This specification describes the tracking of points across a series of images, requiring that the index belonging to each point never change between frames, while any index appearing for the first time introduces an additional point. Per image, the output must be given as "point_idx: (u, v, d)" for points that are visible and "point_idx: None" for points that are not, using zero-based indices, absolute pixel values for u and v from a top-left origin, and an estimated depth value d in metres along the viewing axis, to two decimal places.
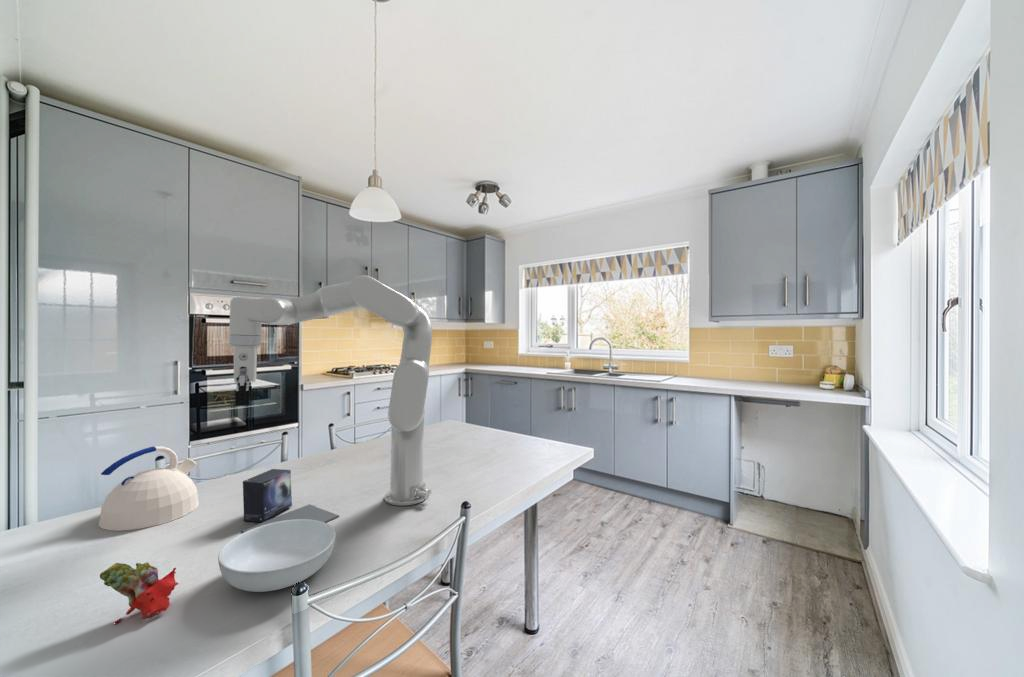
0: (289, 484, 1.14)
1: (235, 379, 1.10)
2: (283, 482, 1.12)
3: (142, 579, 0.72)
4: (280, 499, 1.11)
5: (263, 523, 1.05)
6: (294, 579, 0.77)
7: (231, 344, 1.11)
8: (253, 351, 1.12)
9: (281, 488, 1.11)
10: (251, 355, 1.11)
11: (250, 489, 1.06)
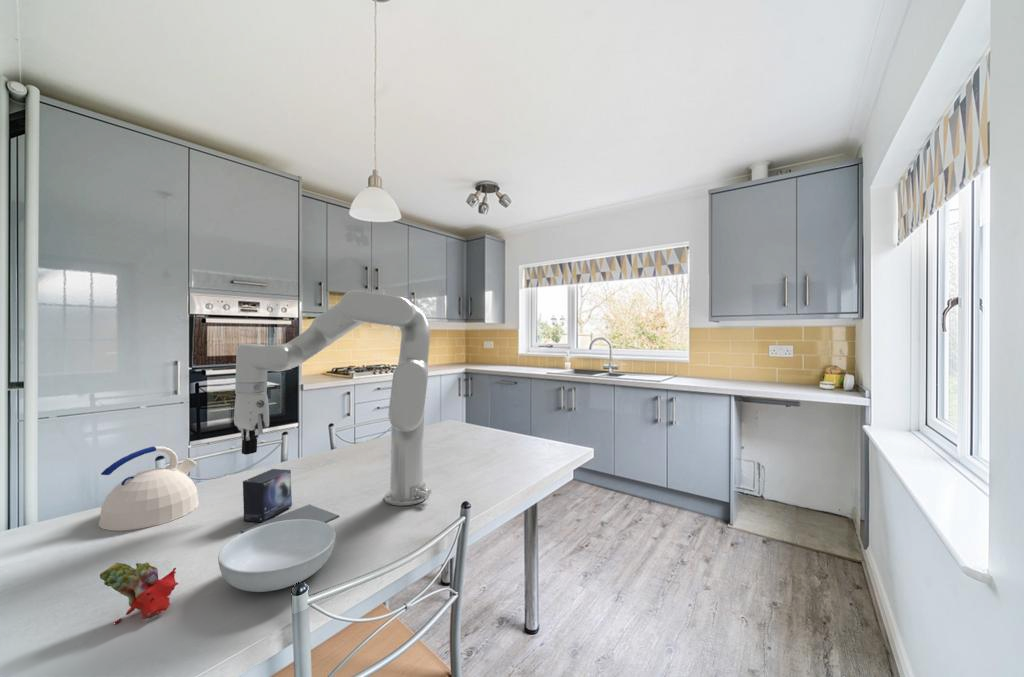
0: (289, 484, 1.14)
1: (253, 427, 1.11)
2: (283, 482, 1.12)
3: (142, 579, 0.72)
4: (280, 499, 1.11)
5: (263, 523, 1.05)
6: (294, 579, 0.77)
7: (244, 392, 1.11)
8: (267, 397, 1.14)
9: (281, 488, 1.11)
10: (266, 402, 1.14)
11: (250, 489, 1.06)
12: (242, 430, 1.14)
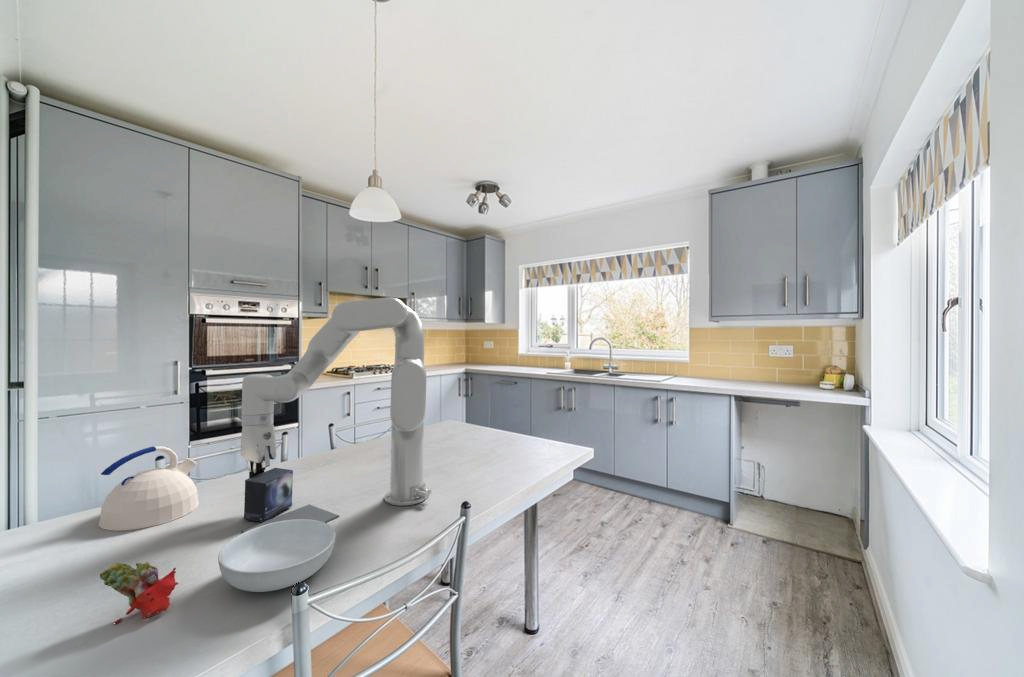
0: (290, 484, 1.14)
1: (260, 460, 1.09)
2: (285, 482, 1.12)
3: (142, 579, 0.72)
4: (281, 499, 1.11)
5: (263, 523, 1.05)
6: (294, 579, 0.77)
7: (250, 425, 1.09)
8: None
9: (282, 488, 1.11)
10: (273, 433, 1.12)
11: (252, 489, 1.06)
12: (249, 462, 1.13)
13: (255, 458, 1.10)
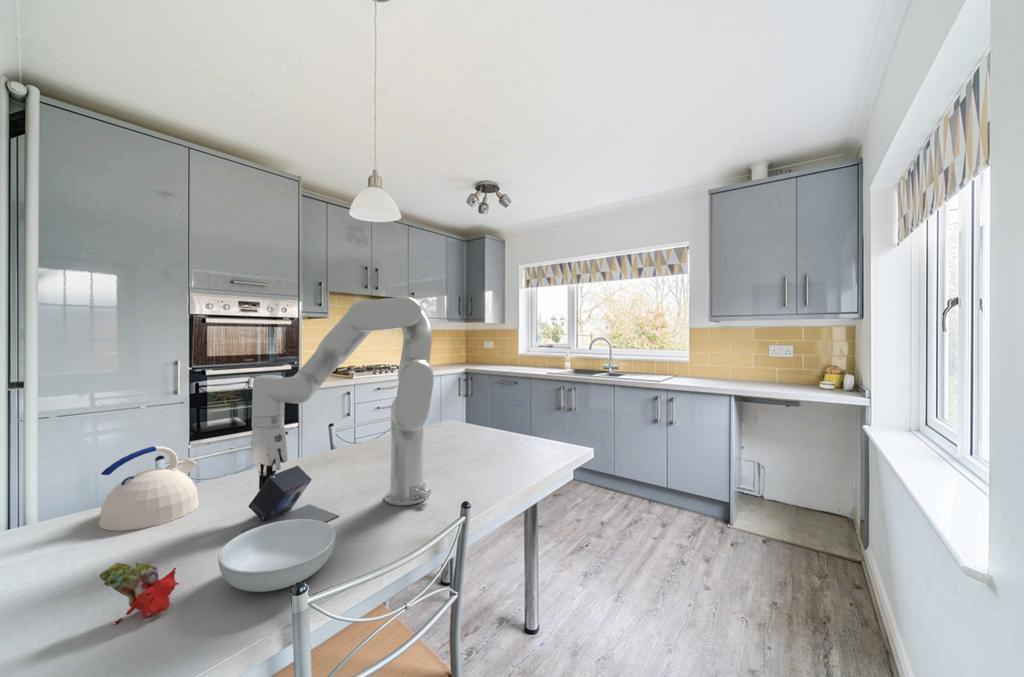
0: (302, 491, 1.14)
1: (271, 463, 1.07)
2: (299, 490, 1.11)
3: (142, 579, 0.72)
4: (288, 504, 1.10)
5: (263, 523, 1.05)
6: (294, 579, 0.77)
7: (261, 427, 1.07)
8: (284, 431, 1.10)
9: (295, 495, 1.10)
10: (284, 436, 1.10)
11: (271, 488, 1.05)
12: (259, 465, 1.10)
13: (266, 461, 1.07)
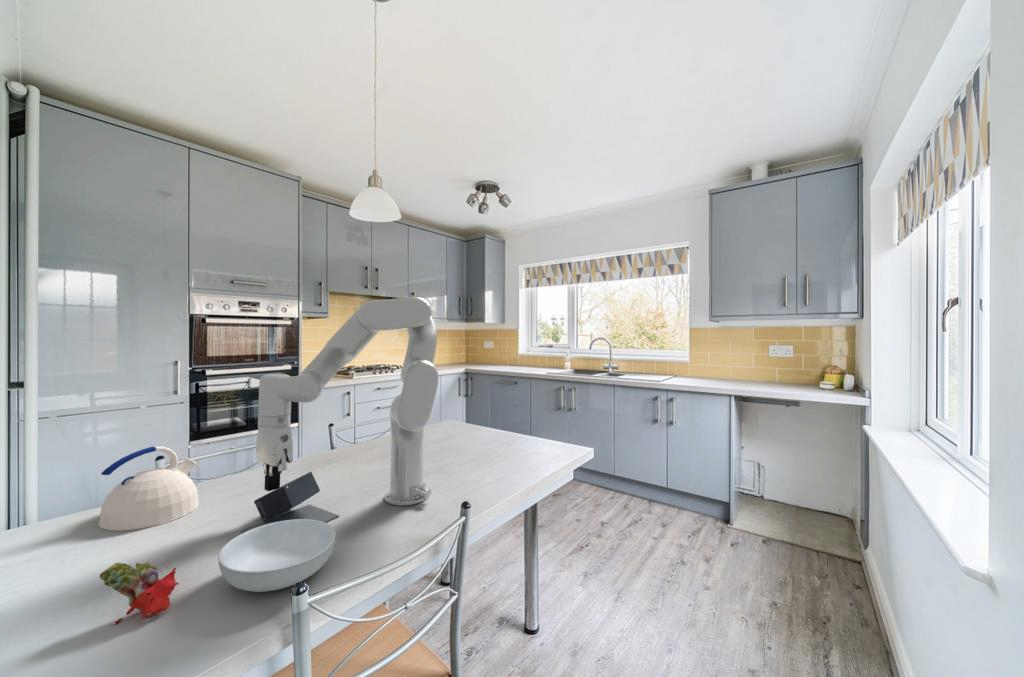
0: None
1: (277, 463, 1.05)
2: None
3: (142, 579, 0.72)
4: None
5: (263, 523, 1.05)
6: (294, 579, 0.77)
7: (267, 426, 1.05)
8: (291, 430, 1.09)
9: None
10: (290, 435, 1.08)
11: (281, 497, 1.04)
12: (265, 465, 1.08)
13: (272, 461, 1.06)
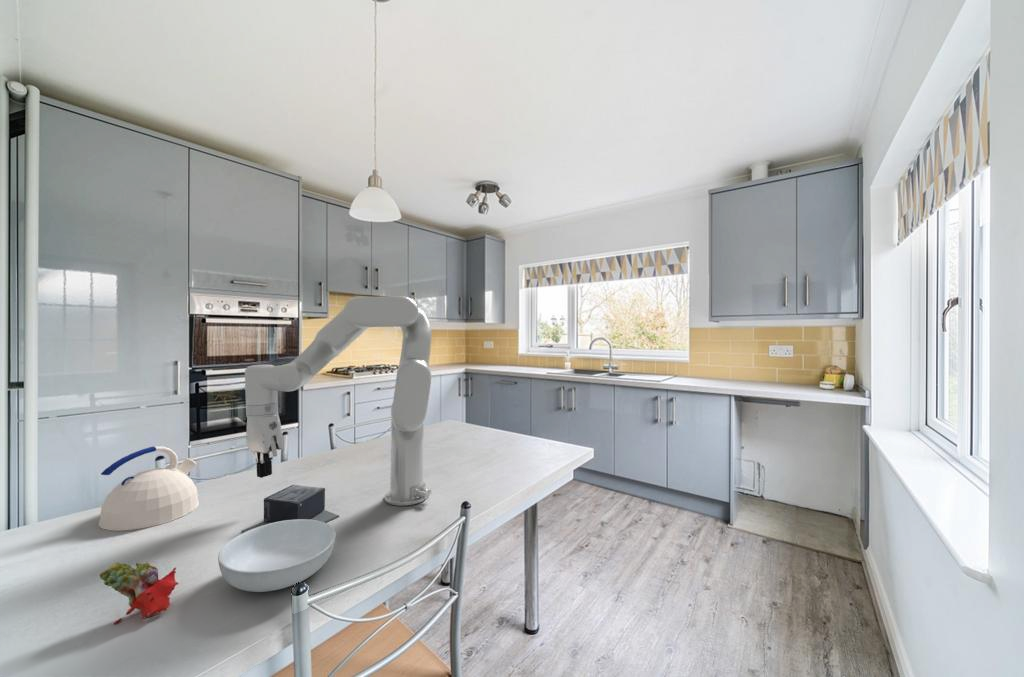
0: None
1: (267, 450, 1.09)
2: None
3: (142, 579, 0.72)
4: None
5: (263, 523, 1.05)
6: (294, 579, 0.77)
7: (255, 415, 1.09)
8: (279, 418, 1.12)
9: None
10: (279, 423, 1.12)
11: (291, 512, 1.03)
12: (256, 453, 1.12)
13: (262, 448, 1.09)
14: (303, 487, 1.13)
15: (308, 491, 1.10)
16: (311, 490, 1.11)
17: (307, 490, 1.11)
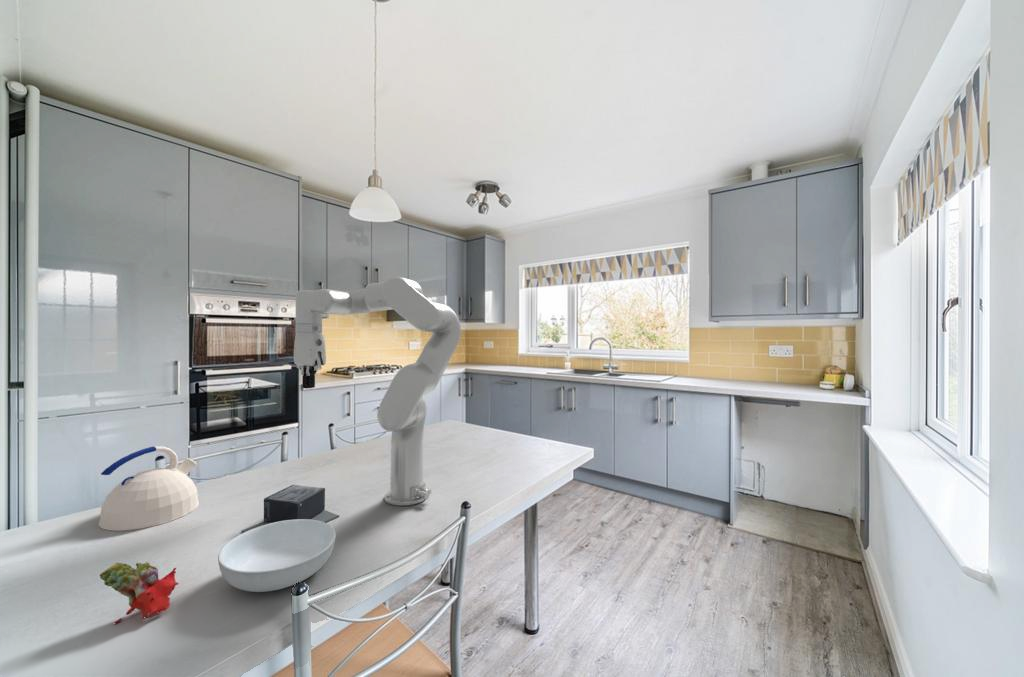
0: None
1: (313, 362, 1.25)
2: None
3: (142, 579, 0.72)
4: None
5: (263, 523, 1.05)
6: (294, 579, 0.77)
7: (304, 332, 1.25)
8: (323, 337, 1.29)
9: None
10: (323, 341, 1.28)
11: (291, 512, 1.03)
12: (302, 367, 1.28)
13: (309, 361, 1.25)
14: (303, 487, 1.13)
15: (308, 491, 1.10)
16: (311, 490, 1.11)
17: (307, 490, 1.11)
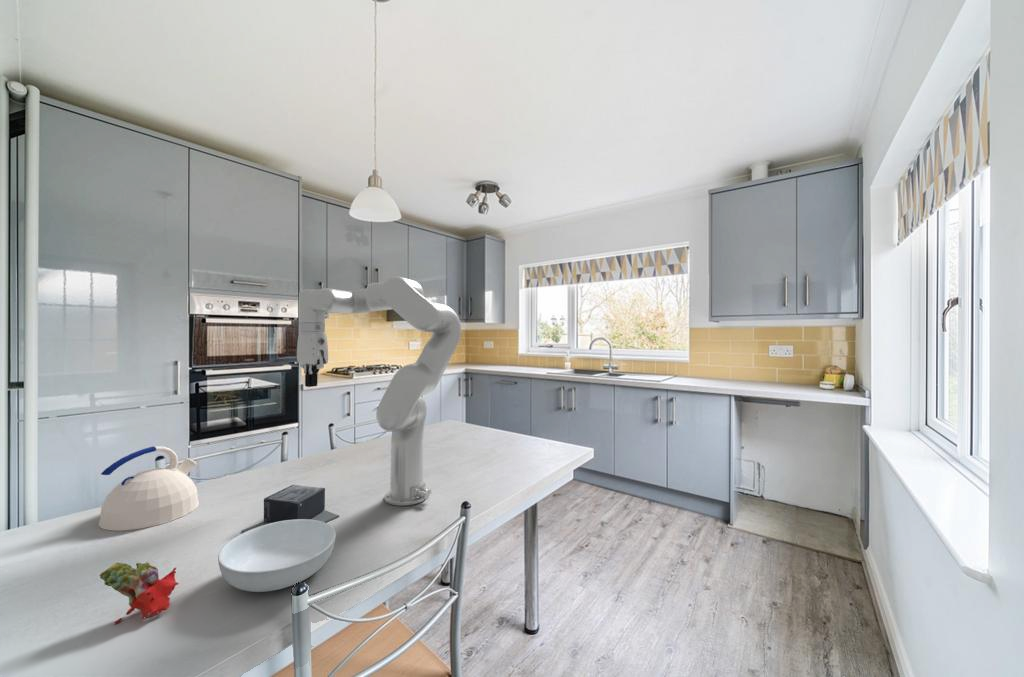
0: None
1: (316, 361, 1.26)
2: None
3: (142, 579, 0.72)
4: None
5: (263, 523, 1.05)
6: (294, 579, 0.77)
7: (307, 331, 1.26)
8: None
9: None
10: (326, 340, 1.29)
11: (291, 512, 1.03)
12: (305, 366, 1.29)
13: (311, 360, 1.27)
14: (303, 487, 1.13)
15: (308, 491, 1.10)
16: (311, 490, 1.11)
17: (307, 490, 1.11)
